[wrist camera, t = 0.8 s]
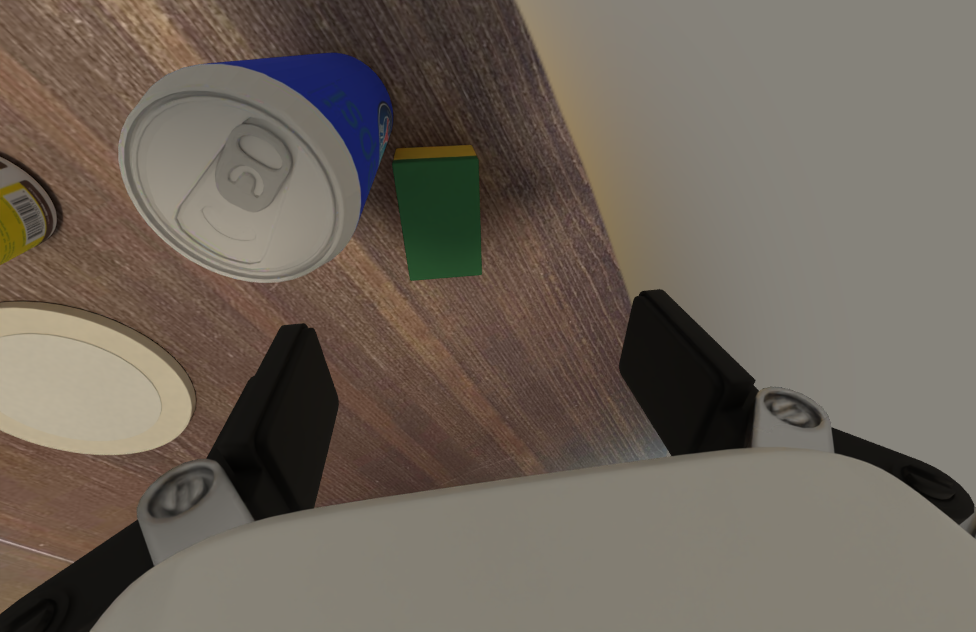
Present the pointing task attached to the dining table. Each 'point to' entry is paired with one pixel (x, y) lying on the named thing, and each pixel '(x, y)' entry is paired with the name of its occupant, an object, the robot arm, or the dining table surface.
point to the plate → (87, 382)
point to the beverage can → (257, 160)
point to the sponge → (439, 210)
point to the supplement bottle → (22, 212)
